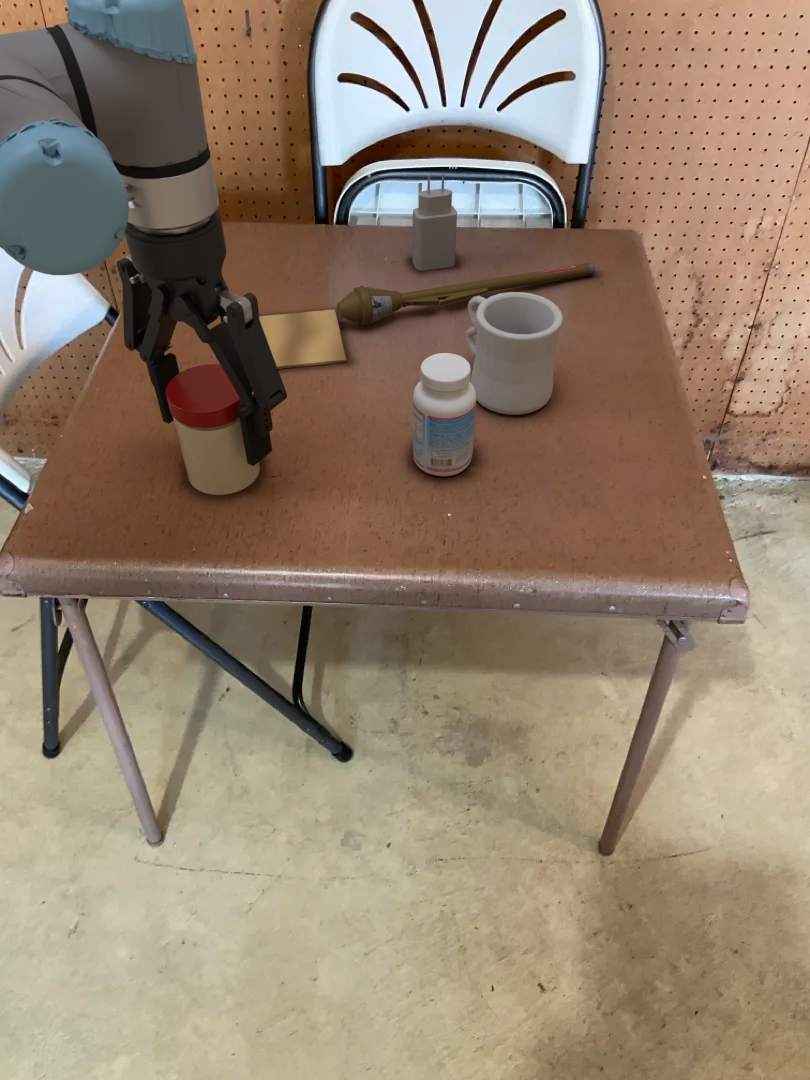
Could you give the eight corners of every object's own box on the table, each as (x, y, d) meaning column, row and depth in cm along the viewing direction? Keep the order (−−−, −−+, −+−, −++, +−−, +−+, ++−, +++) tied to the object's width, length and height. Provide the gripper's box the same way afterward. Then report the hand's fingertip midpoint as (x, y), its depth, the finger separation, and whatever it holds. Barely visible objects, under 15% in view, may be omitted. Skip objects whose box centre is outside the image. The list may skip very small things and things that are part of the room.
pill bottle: (482, 452, 87) (490, 360, 78) (452, 486, 83) (458, 394, 75) (432, 432, 89) (435, 341, 81) (401, 464, 85) (400, 372, 77)
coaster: (250, 371, 96) (250, 369, 96) (246, 320, 104) (246, 317, 103) (346, 362, 98) (346, 359, 97) (335, 311, 105) (335, 309, 105)
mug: (568, 397, 93) (582, 318, 86) (507, 429, 89) (516, 348, 82) (494, 347, 100) (501, 269, 92) (434, 374, 96) (437, 295, 89)
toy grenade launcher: (578, 274, 114) (595, 294, 111) (332, 314, 104) (345, 337, 101) (587, 242, 110) (605, 262, 108) (333, 281, 100) (346, 304, 97)
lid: (251, 424, 76) (249, 408, 75) (168, 432, 75) (164, 416, 74) (248, 376, 81) (246, 360, 80) (170, 383, 81) (166, 367, 79)
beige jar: (187, 499, 82) (167, 422, 75) (187, 451, 87) (169, 375, 80) (262, 490, 83) (249, 413, 76) (258, 443, 87) (245, 367, 81)
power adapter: (411, 260, 114) (411, 171, 105) (449, 255, 115) (453, 166, 106) (417, 271, 112) (418, 181, 103) (456, 266, 113) (460, 176, 104)
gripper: (35, 194, 68) (105, 414, 84) (249, 277, 59) (282, 504, 75) (106, 162, 72) (160, 377, 88) (316, 234, 63) (334, 458, 79)
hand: (216, 435), depth 81 cm, fingers open, 10 cm apart
